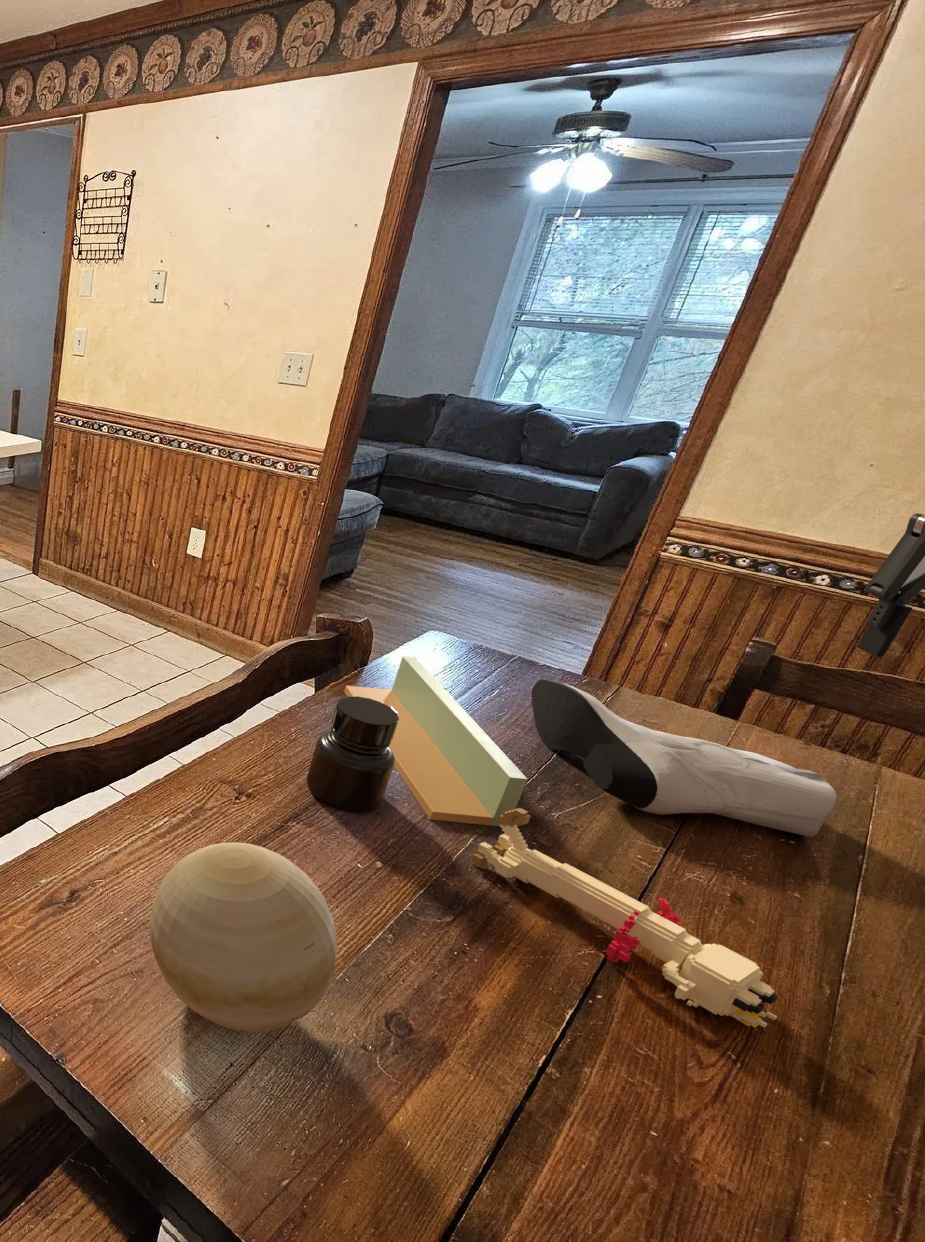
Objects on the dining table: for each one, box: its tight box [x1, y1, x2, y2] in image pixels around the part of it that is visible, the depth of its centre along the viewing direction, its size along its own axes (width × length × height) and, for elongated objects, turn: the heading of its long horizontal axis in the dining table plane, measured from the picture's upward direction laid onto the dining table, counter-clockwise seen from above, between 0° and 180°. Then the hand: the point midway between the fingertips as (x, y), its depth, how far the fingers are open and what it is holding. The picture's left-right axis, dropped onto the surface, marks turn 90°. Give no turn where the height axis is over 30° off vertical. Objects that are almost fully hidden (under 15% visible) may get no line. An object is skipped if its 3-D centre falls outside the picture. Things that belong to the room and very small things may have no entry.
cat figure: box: [470, 807, 779, 1029], centre depth 78 cm, size 10×9×25 cm
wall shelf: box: [343, 656, 529, 827], centre depth 108 cm, size 9×32×7 cm, turn 174°
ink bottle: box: [306, 696, 399, 813], centre depth 97 cm, size 10×9×12 cm
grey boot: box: [531, 678, 837, 838], centre depth 105 cm, size 10×28×25 cm
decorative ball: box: [149, 841, 338, 1033], centre depth 67 cm, size 15×15×15 cm
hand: (903, 654), depth 97 cm, fingers open, 7 cm apart
